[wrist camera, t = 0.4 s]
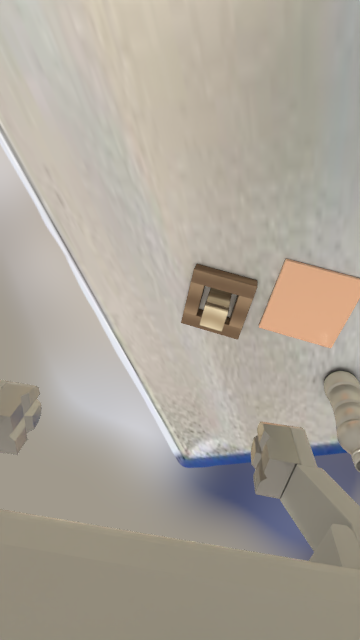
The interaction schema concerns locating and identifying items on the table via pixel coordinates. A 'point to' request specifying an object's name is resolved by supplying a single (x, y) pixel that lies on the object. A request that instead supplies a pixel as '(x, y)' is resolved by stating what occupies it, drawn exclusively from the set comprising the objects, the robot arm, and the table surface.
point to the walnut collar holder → (224, 283)
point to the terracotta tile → (310, 303)
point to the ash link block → (216, 309)
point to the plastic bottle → (346, 411)
